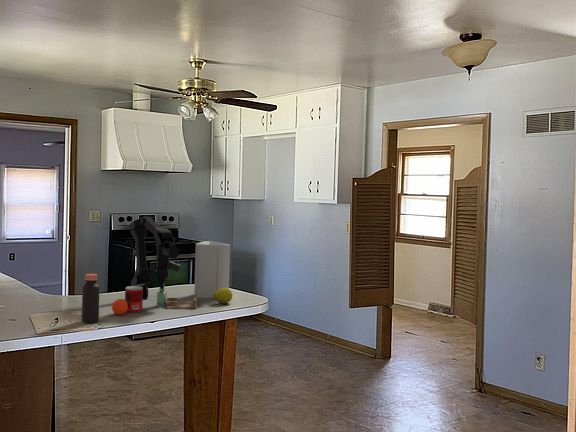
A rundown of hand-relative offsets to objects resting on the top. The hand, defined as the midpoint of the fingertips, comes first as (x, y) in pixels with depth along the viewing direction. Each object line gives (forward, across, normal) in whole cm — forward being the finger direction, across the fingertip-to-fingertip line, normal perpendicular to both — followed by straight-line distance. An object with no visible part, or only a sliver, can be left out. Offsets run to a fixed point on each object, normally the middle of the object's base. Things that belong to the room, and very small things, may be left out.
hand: (161, 288), depth 288 cm
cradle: (+8, 0, -9) cm, 12 cm away
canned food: (+9, -12, +12) cm, 19 cm away
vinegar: (+9, -33, +28) cm, 44 cm away
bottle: (+8, 0, 0) cm, 8 cm away
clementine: (+9, -19, +17) cm, 27 cm away
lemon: (+9, +6, -30) cm, 32 cm away
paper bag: (+9, +26, -23) cm, 36 cm away
